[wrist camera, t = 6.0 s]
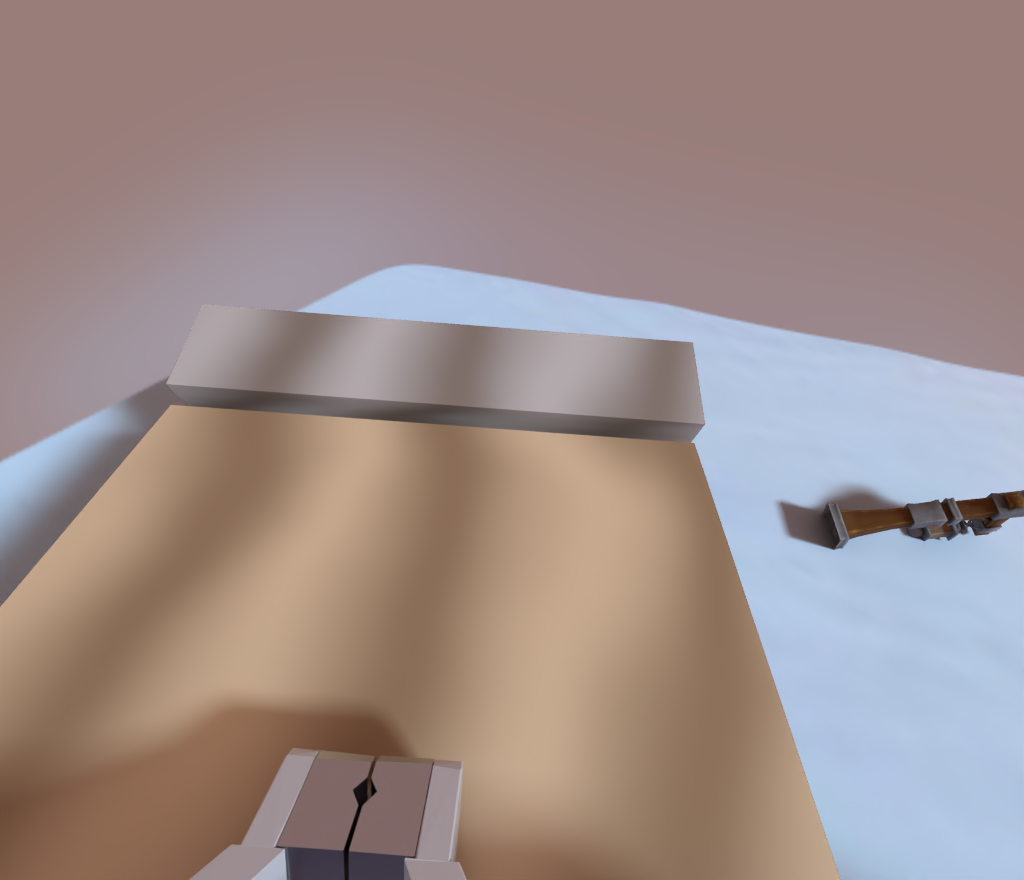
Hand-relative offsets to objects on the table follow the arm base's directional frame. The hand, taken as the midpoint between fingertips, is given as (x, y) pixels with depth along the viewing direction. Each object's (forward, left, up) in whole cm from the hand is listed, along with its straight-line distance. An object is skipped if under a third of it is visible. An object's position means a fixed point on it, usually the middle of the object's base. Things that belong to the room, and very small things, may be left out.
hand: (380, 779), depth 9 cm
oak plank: (-1, +3, -3) cm, 5 cm away
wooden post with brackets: (+21, +10, -12) cm, 26 cm away
